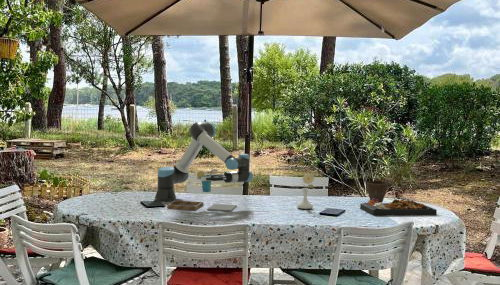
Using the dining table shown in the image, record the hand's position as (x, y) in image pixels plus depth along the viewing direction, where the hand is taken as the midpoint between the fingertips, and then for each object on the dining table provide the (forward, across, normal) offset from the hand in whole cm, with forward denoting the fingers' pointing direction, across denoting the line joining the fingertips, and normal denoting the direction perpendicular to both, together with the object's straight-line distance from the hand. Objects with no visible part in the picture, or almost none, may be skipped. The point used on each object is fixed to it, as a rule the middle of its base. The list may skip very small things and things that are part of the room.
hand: (199, 178), depth 419 cm
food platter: (-127, -49, -22) cm, 138 cm away
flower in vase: (-71, -20, -21) cm, 77 cm away
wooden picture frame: (+6, +8, -21) cm, 23 cm away
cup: (-6, -1, -10) cm, 11 cm away
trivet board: (-16, -4, -21) cm, 26 cm away
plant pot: (-132, -18, -22) cm, 134 cm away
